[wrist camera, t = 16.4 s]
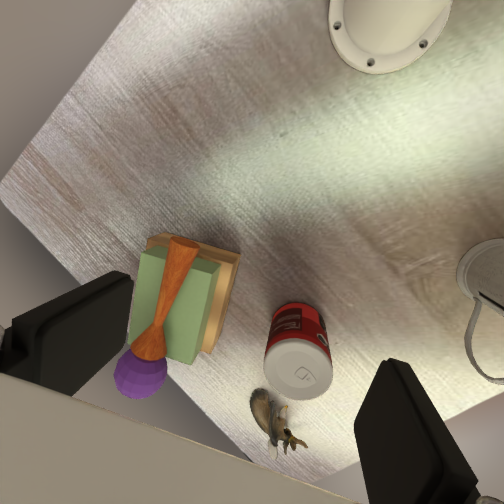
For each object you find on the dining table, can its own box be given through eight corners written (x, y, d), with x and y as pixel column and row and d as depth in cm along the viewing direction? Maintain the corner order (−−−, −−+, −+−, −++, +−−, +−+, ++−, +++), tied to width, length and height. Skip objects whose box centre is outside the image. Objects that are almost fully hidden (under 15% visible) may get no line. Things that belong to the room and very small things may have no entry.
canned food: (314, 355, 43) (319, 411, 33) (265, 336, 44) (254, 386, 33) (333, 311, 41) (344, 357, 31) (280, 293, 42) (274, 331, 31)
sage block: (157, 244, 38) (141, 252, 34) (221, 264, 37) (212, 274, 33) (143, 328, 41) (127, 343, 37) (201, 348, 40) (191, 365, 37)
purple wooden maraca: (208, 258, 28) (151, 416, 32) (214, 245, 34) (164, 381, 38) (150, 237, 28) (98, 402, 32) (165, 228, 33) (120, 368, 37)
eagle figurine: (316, 420, 45) (279, 387, 42) (301, 471, 40) (259, 438, 38) (283, 414, 50) (249, 385, 48) (267, 459, 46) (228, 429, 44)
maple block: (164, 231, 42) (147, 238, 38) (241, 254, 41) (233, 264, 37) (150, 313, 46) (133, 328, 42) (220, 335, 45) (210, 354, 40)
